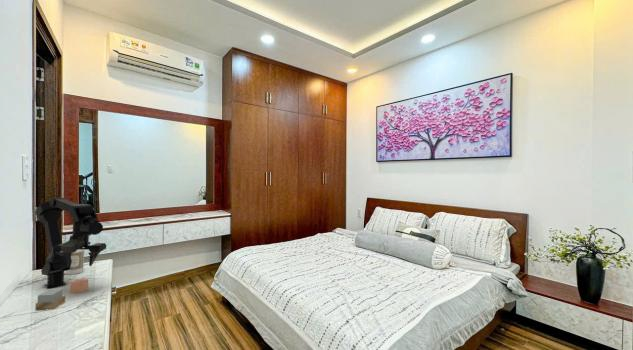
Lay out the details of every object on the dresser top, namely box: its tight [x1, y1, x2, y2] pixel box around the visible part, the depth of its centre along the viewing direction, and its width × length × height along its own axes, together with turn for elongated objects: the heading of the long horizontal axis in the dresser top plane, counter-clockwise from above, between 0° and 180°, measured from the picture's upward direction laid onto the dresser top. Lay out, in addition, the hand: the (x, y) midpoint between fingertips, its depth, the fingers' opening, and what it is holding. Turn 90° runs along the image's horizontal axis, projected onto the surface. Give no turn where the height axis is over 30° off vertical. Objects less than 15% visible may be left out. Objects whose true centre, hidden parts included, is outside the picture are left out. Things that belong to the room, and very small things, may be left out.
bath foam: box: [65, 247, 85, 276], centre depth 142 cm, size 7×7×20 cm
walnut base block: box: [35, 295, 66, 311], centre depth 106 cm, size 6×6×3 cm
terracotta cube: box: [69, 278, 89, 294], centre depth 120 cm, size 4×4×4 cm
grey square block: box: [37, 289, 63, 303], centre depth 105 cm, size 5×5×3 cm
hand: (79, 266), depth 120 cm, fingers open, 9 cm apart
